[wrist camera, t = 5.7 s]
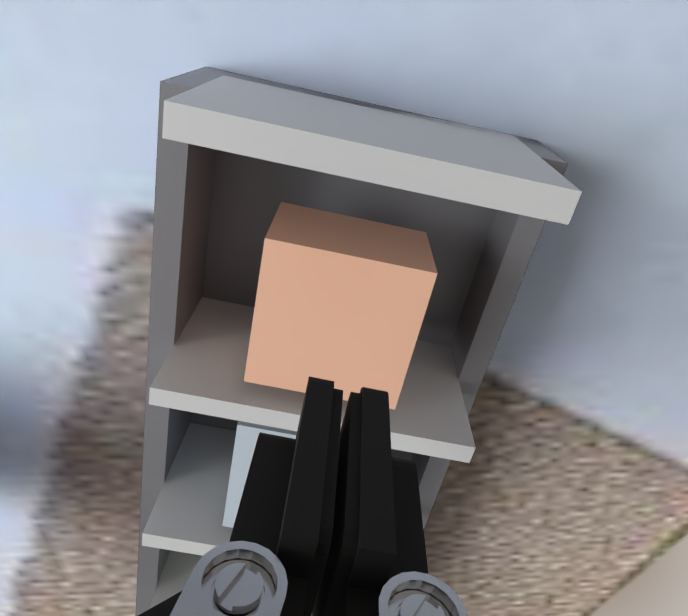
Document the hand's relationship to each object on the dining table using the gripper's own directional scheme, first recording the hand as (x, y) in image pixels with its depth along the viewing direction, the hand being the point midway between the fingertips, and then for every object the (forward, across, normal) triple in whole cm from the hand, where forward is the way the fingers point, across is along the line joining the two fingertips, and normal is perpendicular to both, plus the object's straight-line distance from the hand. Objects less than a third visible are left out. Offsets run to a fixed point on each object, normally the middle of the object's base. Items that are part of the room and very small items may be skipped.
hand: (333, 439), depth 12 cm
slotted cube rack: (+10, 0, +8) cm, 13 cm away
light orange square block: (+7, 0, 0) cm, 7 cm away
